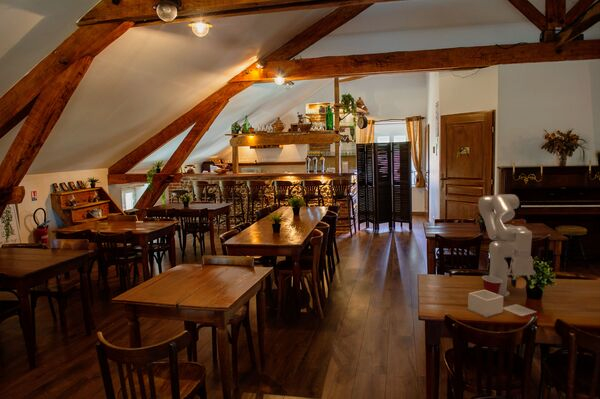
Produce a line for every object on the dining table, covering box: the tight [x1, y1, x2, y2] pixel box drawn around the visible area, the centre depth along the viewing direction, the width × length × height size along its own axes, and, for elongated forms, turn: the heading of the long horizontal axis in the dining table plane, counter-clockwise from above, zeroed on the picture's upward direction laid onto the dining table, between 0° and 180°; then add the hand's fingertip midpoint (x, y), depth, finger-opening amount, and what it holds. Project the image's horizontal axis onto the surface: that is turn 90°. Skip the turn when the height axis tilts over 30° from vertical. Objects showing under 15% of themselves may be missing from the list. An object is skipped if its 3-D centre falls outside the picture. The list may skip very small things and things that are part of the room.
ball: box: [515, 276, 526, 289], centre depth 225 cm, size 6×6×6 cm
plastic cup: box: [481, 275, 503, 294], centre depth 244 cm, size 11×11×12 cm
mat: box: [503, 303, 537, 317], centre depth 227 cm, size 12×12×1 cm
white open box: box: [467, 289, 505, 318], centre depth 226 cm, size 12×12×9 cm
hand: (519, 285), depth 226 cm, fingers closed on ball, 5 cm apart
